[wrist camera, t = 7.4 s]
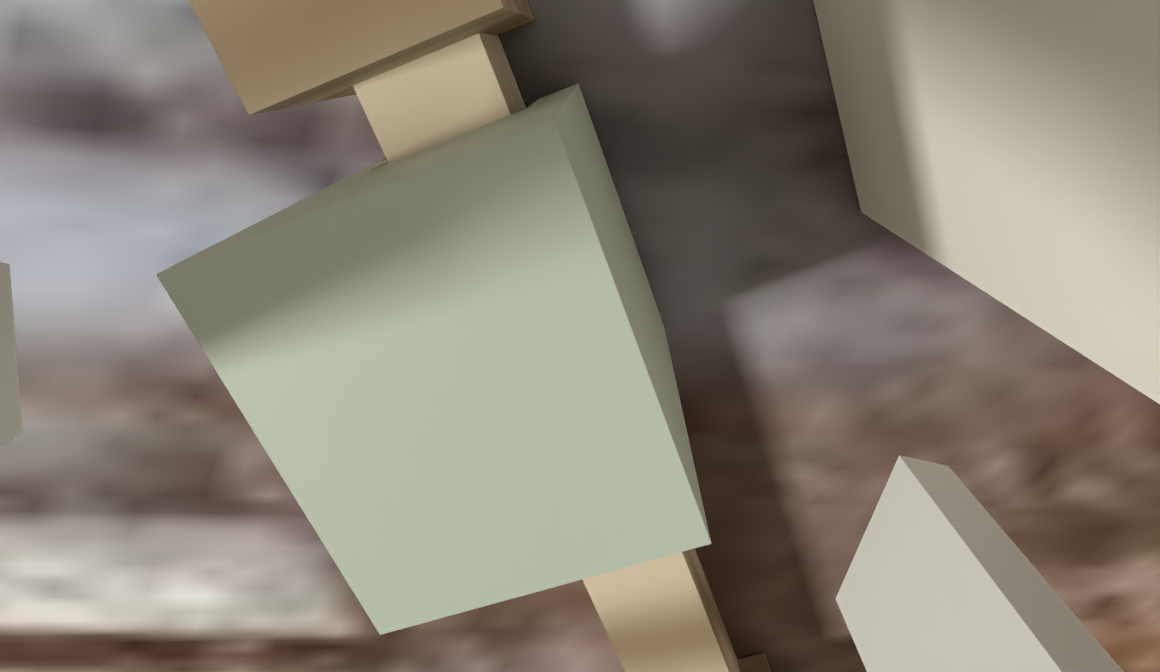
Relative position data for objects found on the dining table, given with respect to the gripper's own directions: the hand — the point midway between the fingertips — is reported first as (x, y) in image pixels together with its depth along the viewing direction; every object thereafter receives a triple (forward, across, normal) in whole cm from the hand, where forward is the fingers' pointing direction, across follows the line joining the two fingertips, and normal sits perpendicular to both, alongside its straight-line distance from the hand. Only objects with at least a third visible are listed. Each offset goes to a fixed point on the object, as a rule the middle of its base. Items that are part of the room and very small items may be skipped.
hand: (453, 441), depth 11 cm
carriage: (+10, 0, 0) cm, 10 cm away
